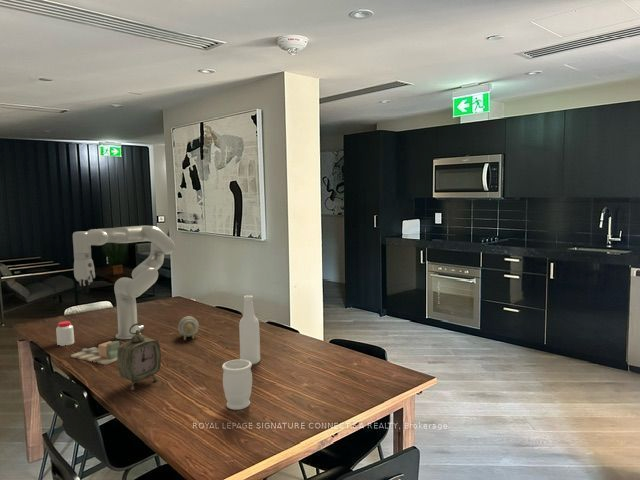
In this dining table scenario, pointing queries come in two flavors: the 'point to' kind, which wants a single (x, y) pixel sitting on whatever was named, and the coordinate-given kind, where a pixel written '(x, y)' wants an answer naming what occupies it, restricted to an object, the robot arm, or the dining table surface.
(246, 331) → the alcohol
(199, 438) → the dining table surface
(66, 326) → the pill bottle
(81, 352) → the rail board
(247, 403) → the jar
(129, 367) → the tabletop clock
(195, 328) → the toy sheep
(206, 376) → the dining table surface
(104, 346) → the block
